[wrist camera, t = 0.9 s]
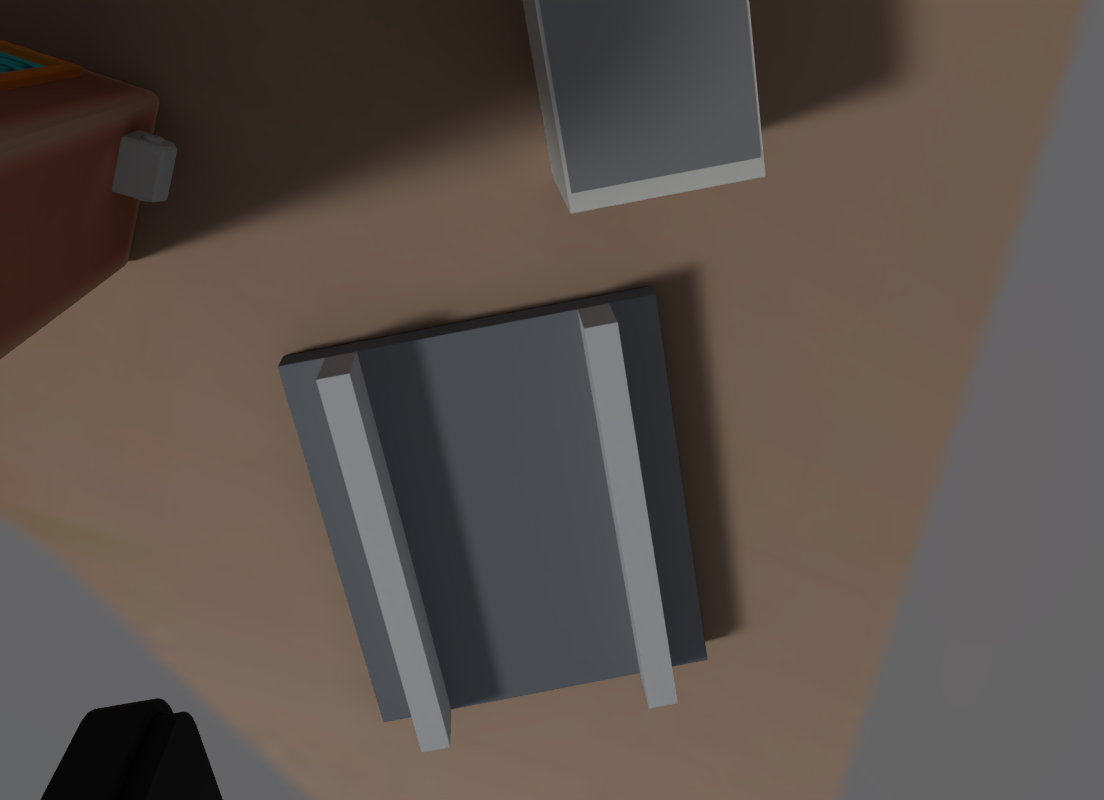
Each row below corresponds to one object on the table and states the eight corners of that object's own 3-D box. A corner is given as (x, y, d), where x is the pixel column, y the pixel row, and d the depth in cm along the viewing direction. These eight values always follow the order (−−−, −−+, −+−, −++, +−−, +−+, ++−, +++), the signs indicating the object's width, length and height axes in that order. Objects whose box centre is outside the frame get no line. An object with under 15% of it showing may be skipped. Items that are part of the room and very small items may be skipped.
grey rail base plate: (283, 356, 32) (265, 389, 29) (650, 286, 32) (667, 312, 29) (386, 704, 37) (379, 760, 35) (701, 643, 37) (720, 695, 35)
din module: (503, -111, 28) (510, -141, 22) (679, -144, 28) (732, -183, 22) (552, 175, 31) (571, 213, 25) (711, 145, 31) (766, 177, 25)
